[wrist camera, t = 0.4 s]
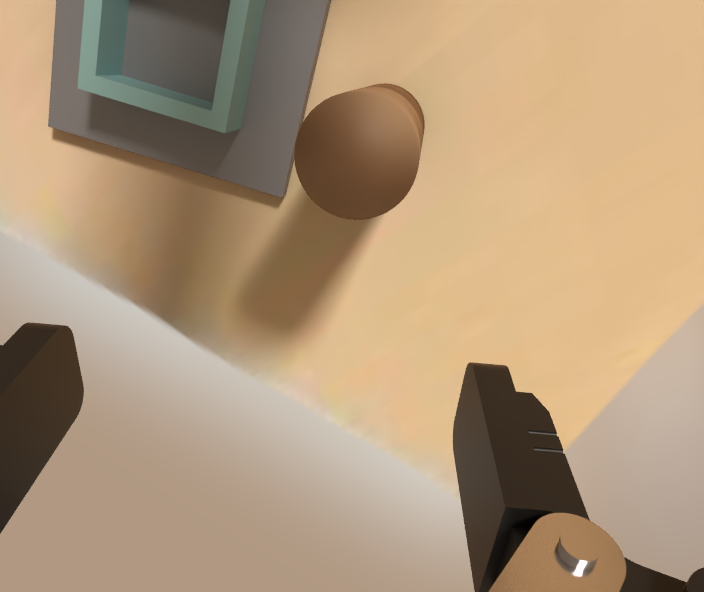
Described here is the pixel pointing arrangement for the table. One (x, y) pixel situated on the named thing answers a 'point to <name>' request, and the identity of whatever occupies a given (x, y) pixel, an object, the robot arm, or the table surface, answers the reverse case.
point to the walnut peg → (360, 150)
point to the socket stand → (190, 81)
